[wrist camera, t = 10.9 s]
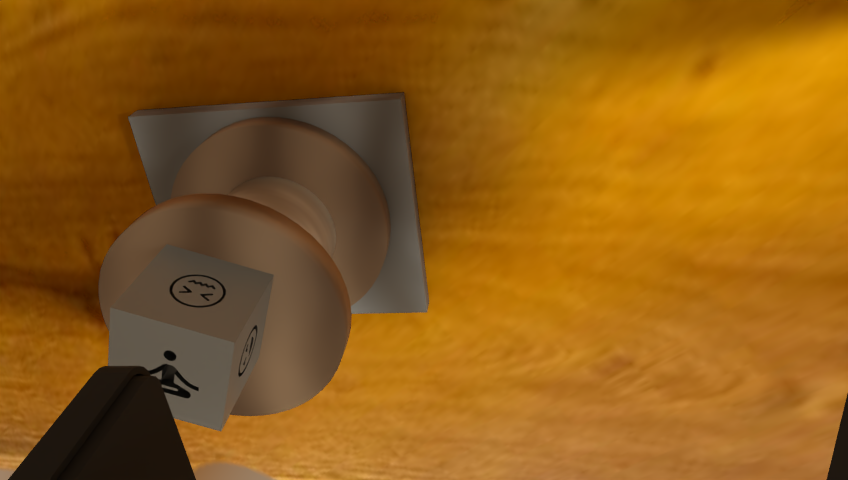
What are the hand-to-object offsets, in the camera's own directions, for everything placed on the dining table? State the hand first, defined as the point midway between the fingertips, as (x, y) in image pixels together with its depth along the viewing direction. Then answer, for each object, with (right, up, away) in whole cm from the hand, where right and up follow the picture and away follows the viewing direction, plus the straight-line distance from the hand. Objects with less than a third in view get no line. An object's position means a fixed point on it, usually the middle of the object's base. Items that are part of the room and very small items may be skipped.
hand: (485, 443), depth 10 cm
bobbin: (-9, +5, +34) cm, 35 cm away
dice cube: (-11, 0, +23) cm, 25 cm away
